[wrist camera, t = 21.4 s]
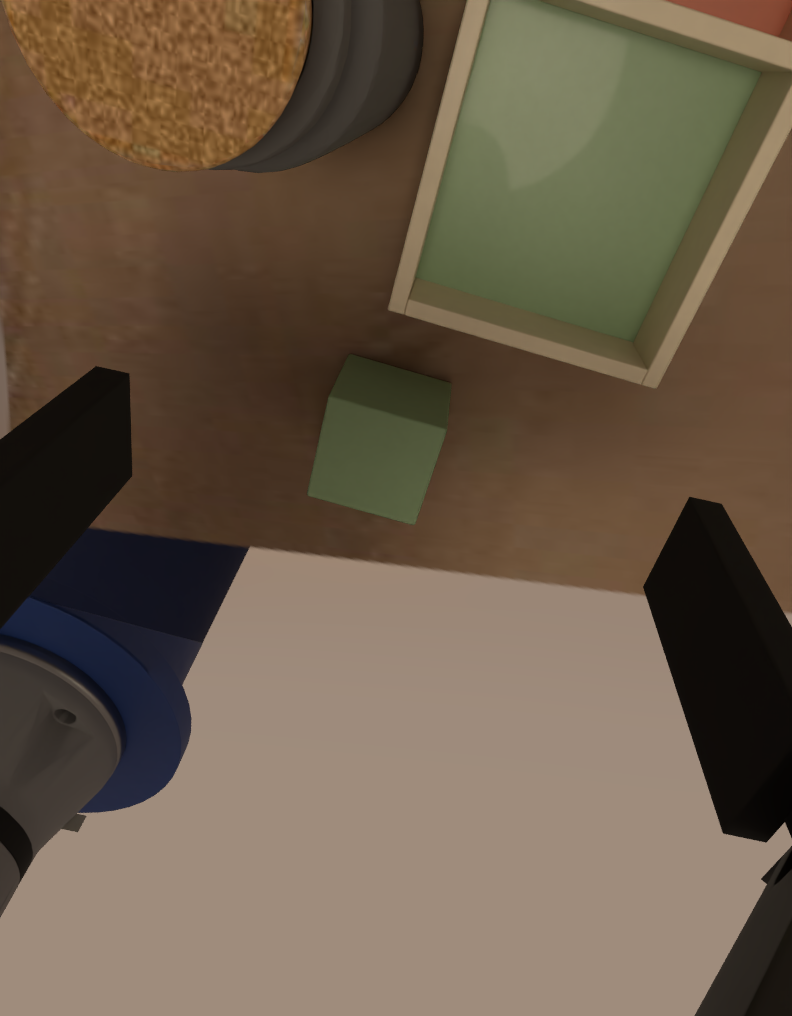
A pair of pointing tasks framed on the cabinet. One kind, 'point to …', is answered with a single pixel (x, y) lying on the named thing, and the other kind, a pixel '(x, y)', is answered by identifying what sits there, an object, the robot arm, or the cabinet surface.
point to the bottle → (221, 74)
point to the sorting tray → (594, 172)
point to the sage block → (380, 439)
